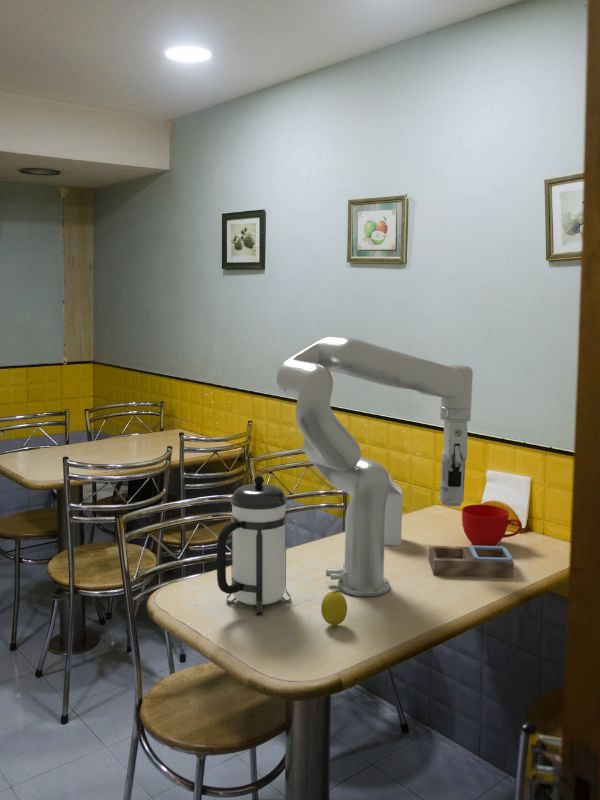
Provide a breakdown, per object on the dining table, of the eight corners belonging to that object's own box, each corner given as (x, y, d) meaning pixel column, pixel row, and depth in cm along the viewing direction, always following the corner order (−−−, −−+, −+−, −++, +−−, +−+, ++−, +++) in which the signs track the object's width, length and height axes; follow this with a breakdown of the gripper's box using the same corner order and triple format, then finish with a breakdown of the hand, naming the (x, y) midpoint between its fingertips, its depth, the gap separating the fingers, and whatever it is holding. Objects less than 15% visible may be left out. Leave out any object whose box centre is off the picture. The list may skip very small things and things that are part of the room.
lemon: (319, 620, 161) (320, 586, 160) (345, 620, 161) (345, 585, 160) (322, 632, 156) (322, 596, 154) (348, 631, 156) (349, 595, 155)
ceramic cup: (514, 558, 201) (516, 522, 199) (454, 547, 209) (455, 512, 208) (526, 544, 212) (527, 510, 210) (468, 534, 220) (469, 502, 219)
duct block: (433, 575, 188) (434, 558, 187) (428, 559, 199) (429, 543, 198) (513, 577, 187) (514, 560, 186) (503, 562, 197) (504, 545, 197)
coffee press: (225, 588, 178) (224, 467, 174) (291, 589, 178) (292, 468, 174) (216, 620, 161) (215, 486, 156) (290, 621, 161) (291, 487, 156)
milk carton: (400, 538, 216) (402, 475, 213) (401, 546, 209) (403, 481, 206) (375, 537, 217) (377, 474, 214) (375, 545, 210) (377, 480, 207)
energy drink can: (437, 500, 193) (439, 444, 191) (459, 500, 193) (462, 444, 191) (442, 507, 187) (445, 449, 185) (466, 507, 187) (469, 449, 185)
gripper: (476, 420, 178) (472, 492, 181) (464, 409, 195) (461, 475, 198) (445, 419, 179) (442, 491, 181) (436, 408, 196) (433, 474, 198)
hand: (452, 482), depth 189 cm, fingers closed on energy drink can, 6 cm apart
